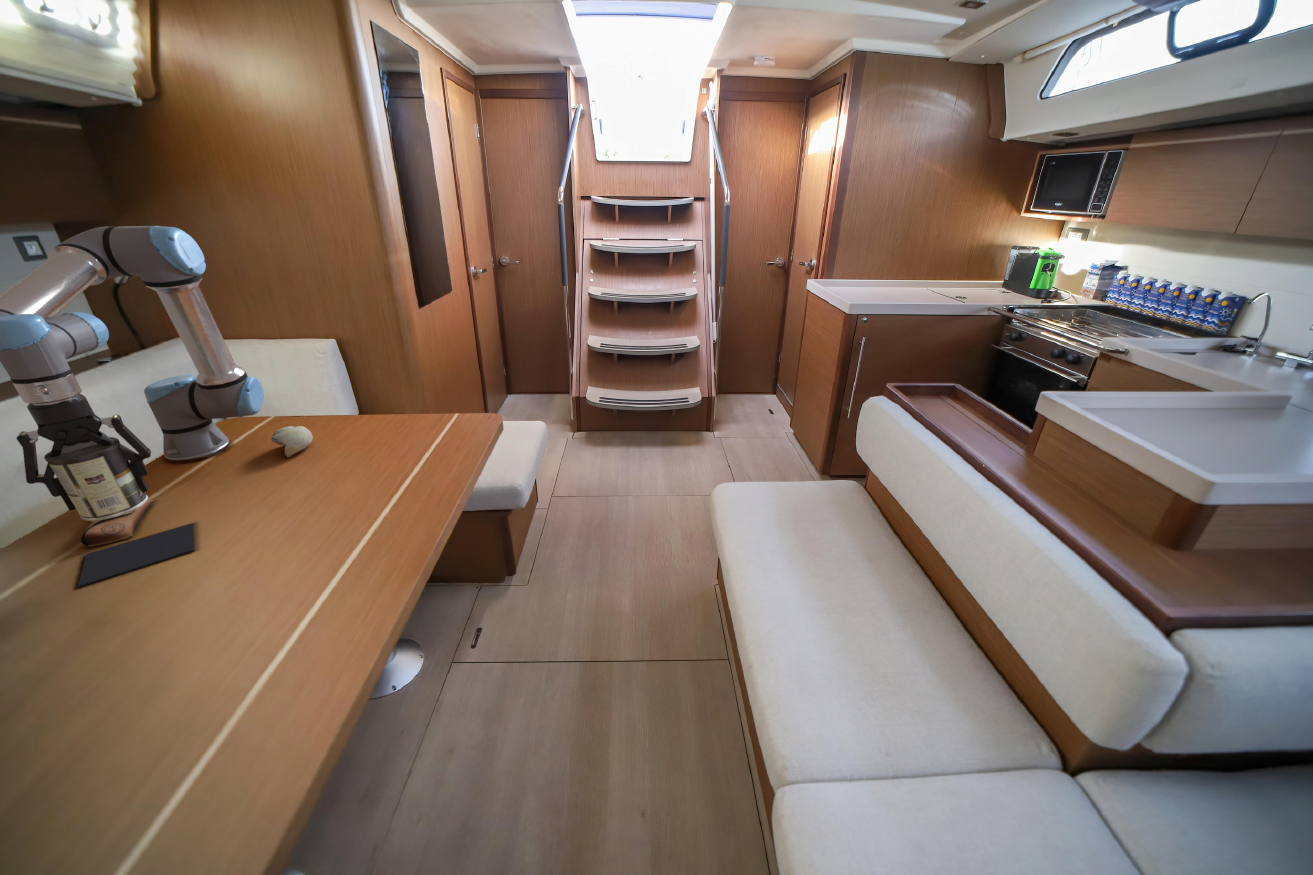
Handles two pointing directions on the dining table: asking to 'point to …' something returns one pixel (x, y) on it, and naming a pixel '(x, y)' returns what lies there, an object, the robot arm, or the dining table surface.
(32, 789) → the dining table surface
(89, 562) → the place mat
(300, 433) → the seashell
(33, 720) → the dining table surface
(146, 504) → the sunglasses case
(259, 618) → the dining table surface
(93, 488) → the coffee can
